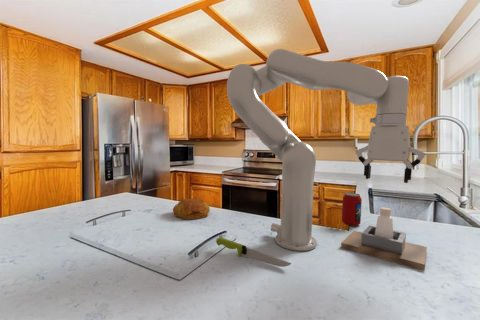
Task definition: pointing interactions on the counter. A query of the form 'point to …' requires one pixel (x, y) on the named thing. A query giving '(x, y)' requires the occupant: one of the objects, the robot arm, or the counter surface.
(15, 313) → the counter surface
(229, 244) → the kitchen knife
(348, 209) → the beverage can
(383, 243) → the metal socket
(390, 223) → the salt shaker
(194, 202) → the round bread loaf
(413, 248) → the walnut board
